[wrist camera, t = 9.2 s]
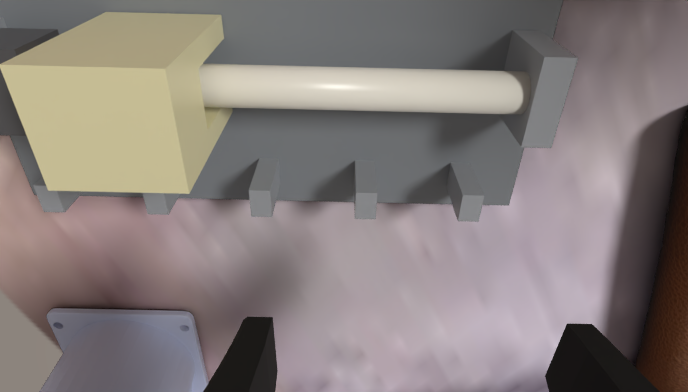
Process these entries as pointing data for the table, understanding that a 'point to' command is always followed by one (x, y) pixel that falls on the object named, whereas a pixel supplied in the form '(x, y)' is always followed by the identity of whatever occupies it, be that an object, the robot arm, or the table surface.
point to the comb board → (346, 98)
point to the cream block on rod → (120, 102)
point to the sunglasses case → (670, 290)
